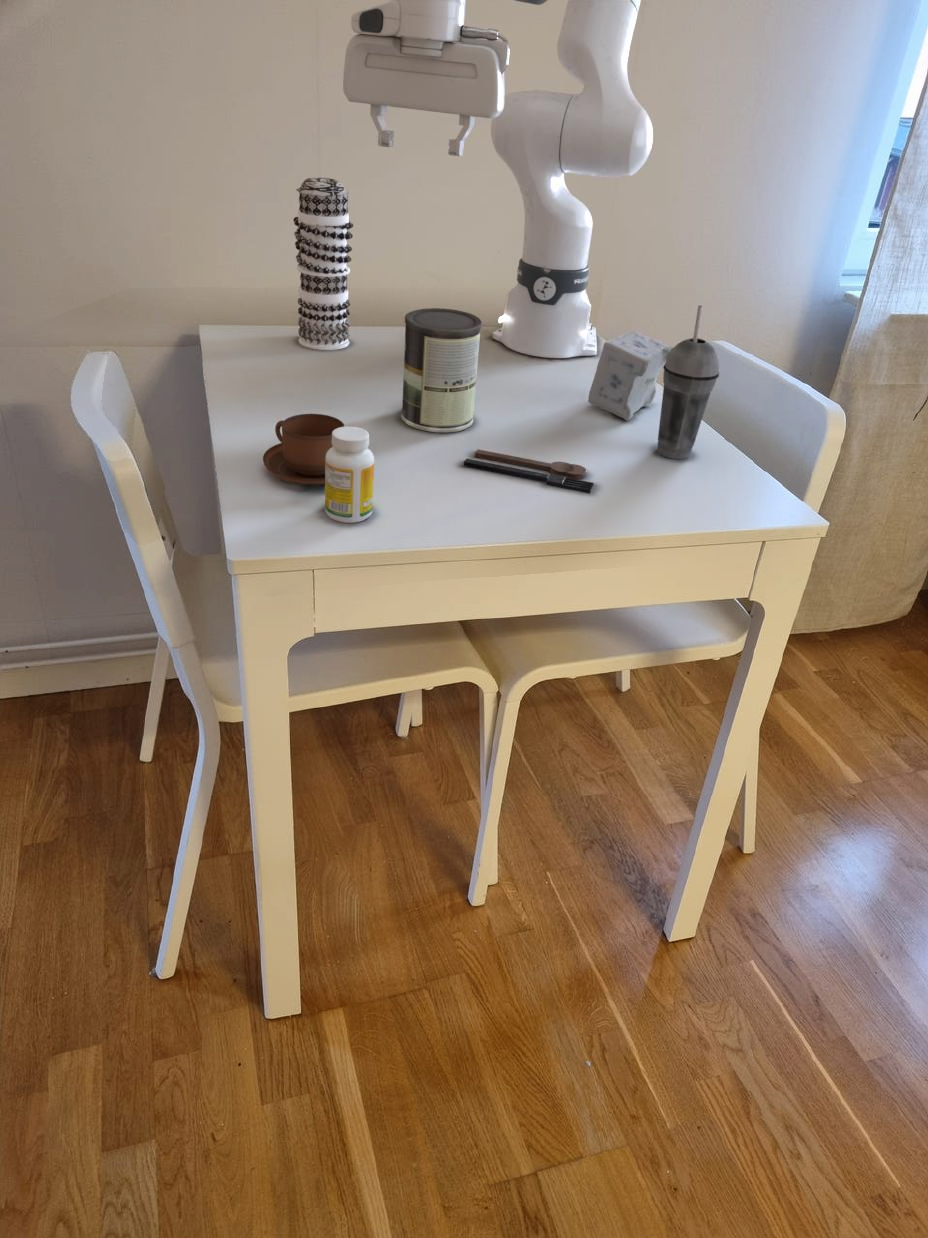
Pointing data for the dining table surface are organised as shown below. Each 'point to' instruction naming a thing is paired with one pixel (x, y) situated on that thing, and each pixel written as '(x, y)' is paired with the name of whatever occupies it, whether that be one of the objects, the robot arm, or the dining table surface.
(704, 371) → the beverage cup
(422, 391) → the coffee can
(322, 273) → the decorative candle
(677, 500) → the dining table surface
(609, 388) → the incense holder
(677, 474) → the dining table surface
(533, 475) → the fork
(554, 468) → the spoon
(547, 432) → the dining table surface
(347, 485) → the supplement bottle
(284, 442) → the cup and saucer
